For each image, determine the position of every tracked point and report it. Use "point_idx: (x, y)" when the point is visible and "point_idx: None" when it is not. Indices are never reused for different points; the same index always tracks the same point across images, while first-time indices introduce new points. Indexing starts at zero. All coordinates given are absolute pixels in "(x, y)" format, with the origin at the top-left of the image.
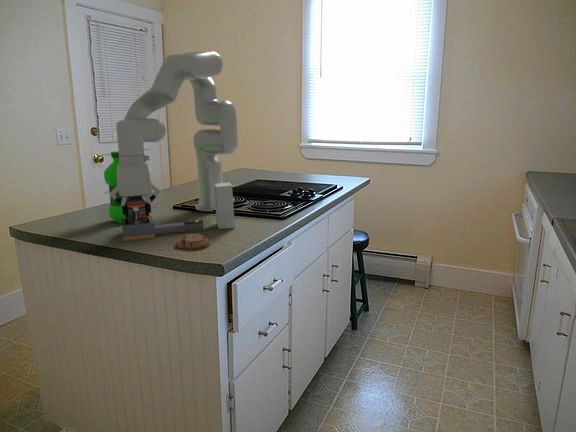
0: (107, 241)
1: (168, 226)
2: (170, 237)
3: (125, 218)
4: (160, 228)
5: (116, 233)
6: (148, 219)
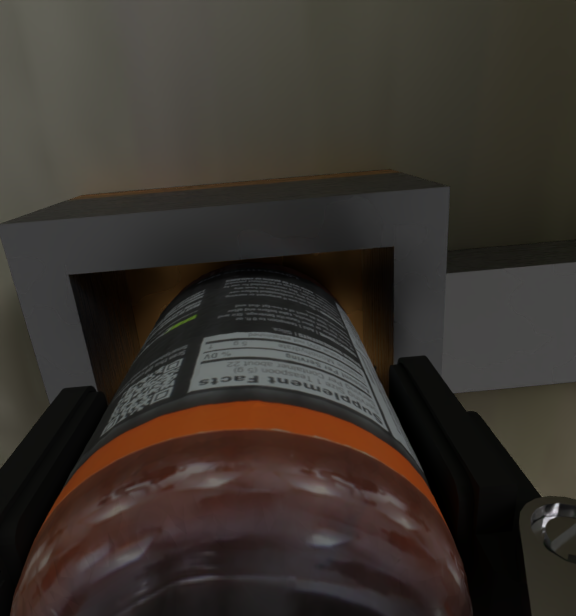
0: (6, 430)
1: (558, 370)
2: (505, 443)
3: (70, 255)
4: (471, 387)
5: (20, 195)
6: (389, 328)
